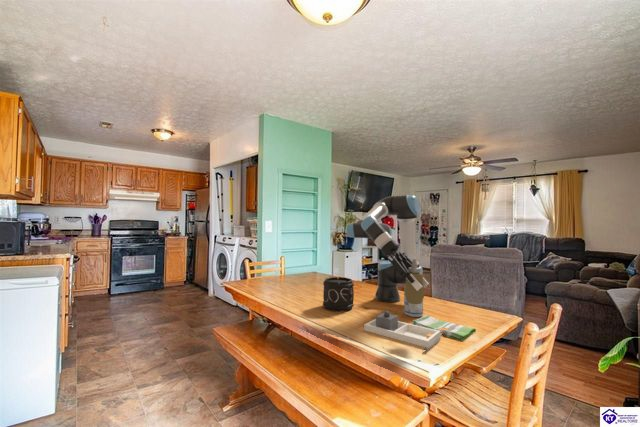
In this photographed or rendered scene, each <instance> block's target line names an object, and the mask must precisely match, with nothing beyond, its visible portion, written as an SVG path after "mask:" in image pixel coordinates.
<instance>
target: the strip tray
mask: <svg viewBox="0 0 640 427" xmlns="http://www.w3.org/2000/svg"><path fill="white" fill-rule="evenodd" d="M412 324H413V323H407V322H404V321H399V320H398V329H397V330H395V331H391V330H387V329H383V328H380V327H376V318H375V319H372V320H371V321H368V322H366V323H364V327H363V330H364V331H366V332H370V333H372V334H377V335H380V336H384V337H388V338H390V339H394V340H398V341H400V342H404V343H409V344H412V345H415V346H418V347H419V346H420V347H422V348H423V350H424V351H430V349H432V348H433V347H434V346H435V345H436V344H437V343H439V342H440V341H441V333H440V331H438V330H433V329H429V328H425V327H421V326H417V325H412Z"/></svg>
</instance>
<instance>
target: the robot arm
mask: <svg viewBox="0 0 640 427" xmlns="http://www.w3.org/2000/svg"><path fill="white" fill-rule="evenodd" d="M420 213H421V205H420V201H419V198H418V197H417V196H415V195H409V194H406V195H389V196H386V197H384V198H382V199H380V200H378V201H377V202H375V203H374V205H372V208H371V209H370V210H369V211H368V212H367V213H365V214H364V215H363V216H362V217H361V218H359V219H358V221H356V222H351V223H348V224H347V225H346V228H345V232H346V235H347V236H348V238H353V239H371V240H372V242H373V243H374V244H375V246H376V247H377V248H378V249H379V250H380V252H381V253H382V254H383V255H384V256H385V257H387V258H386V259H387V260H388V261H386V262H385V261H384V262H380V263H379V264H378V265H377V267H378V268H377V278H378V279H377V282H378V283H377V288H376V292H375V295H374V296H375V298H374V299H375V300H376V301H378V302H384V303H398V302H400V301H401V296H400V292H399V289H398V285H404V286H405V283H406V278H407V279H408V281H409V282H410V283H411V284H412V285H413V287H414V288H415V289H416V290H417V291H418V290H419V289H420V288H421V287H422V285H421V284H420V283H419V282H418V281H417V279H416V278H415V277H414V276H413V275H412V274H410V273H409V267H411V266H412V262H413V259H416V262H417V266H418V268H420V273H421V274H422V275H424V274H423V273H424V271H423V267H422V266H420V262H419V261H418V260H417V252H416V249H417V248H416V229H415V226H416V225H415V222H416V220H417V219H418V216H419V215H420ZM387 216H396V220H397V221H398V222H399V238H400V239H399V240H400V245H399V244H398V243H397V242H396V240H395V239H394V238H393V237H392V234H393V230H392V228H391V226H390V225H388V224H386V223H383V222H380V220H381V219H382V218H385V217H387ZM399 247H400V250H399ZM409 274H410V275H409ZM423 284H424V289H425V288H427V286H428V285H429V284H430V283H429V282H428V281H427V280H426V278H425V277H424V276H423Z"/></svg>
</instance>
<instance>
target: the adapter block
mask: <svg viewBox="0 0 640 427" xmlns="http://www.w3.org/2000/svg"><path fill="white" fill-rule="evenodd" d="M398 317H399V316H398V315H395V314H391V312H390V311H389V310H384V311H383V312H381V313H380V314H378V315H376V316H375V319H376V327H380V328H383V329H387V330H391V331H395V330H397V329H398V321H399V318H398Z"/></svg>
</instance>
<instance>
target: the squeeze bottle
mask: <svg viewBox="0 0 640 427" xmlns="http://www.w3.org/2000/svg"><path fill="white" fill-rule="evenodd" d="M416 261H417V258H416V259H413V262H412V266H411V267H409V273H410V274H412V275H413V276H414V277H415V278H416V279H417V281H418V282H419V283H420V284H421V285H422V287H421V288H420V289H419V290H418V291H417V290H416V289H415V288H414V287H413V285H412V284H411V283H410V282H409V281H408V279H407V278H406V283H405V285H404V289H405V293H404V294H405V297H406V300H407V302H408V303H411V304H421V303H422V301H423V302H424V298H425V295H426V294H425V288H424V284H423V277H424V276H423V275H424V274H421V273H420V268H418V266H417V262H416ZM410 274H409V275H410Z"/></svg>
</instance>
